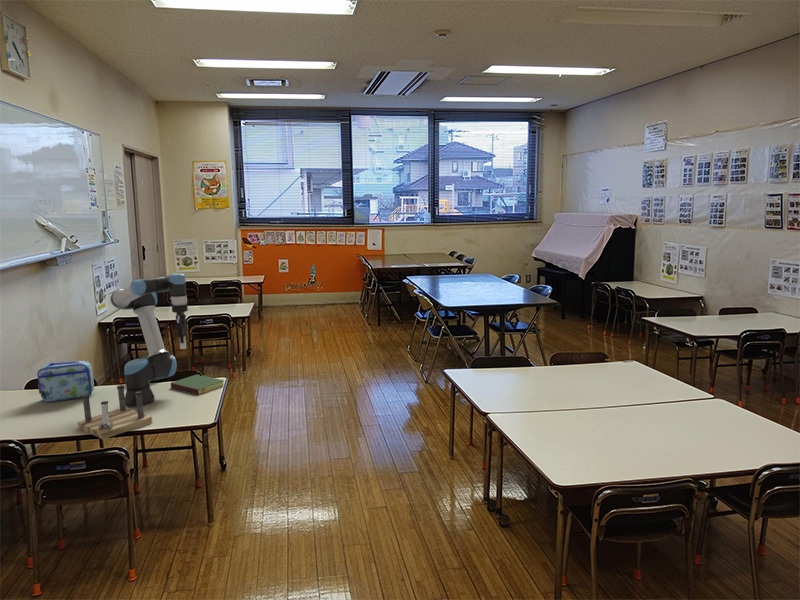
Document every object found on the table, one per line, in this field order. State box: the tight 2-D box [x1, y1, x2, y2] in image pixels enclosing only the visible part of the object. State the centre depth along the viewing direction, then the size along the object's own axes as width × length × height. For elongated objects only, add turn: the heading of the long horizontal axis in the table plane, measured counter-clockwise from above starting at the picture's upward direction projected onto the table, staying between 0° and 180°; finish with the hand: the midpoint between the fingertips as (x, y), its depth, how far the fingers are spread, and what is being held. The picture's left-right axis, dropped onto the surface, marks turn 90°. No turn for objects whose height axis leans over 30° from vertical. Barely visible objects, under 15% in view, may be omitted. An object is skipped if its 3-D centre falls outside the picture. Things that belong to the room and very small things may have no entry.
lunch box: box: [36, 360, 95, 403], centre depth 309 cm, size 26×11×21 cm, turn 108°
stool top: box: [77, 384, 153, 440], centre depth 269 cm, size 24×24×16 cm
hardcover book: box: [170, 374, 225, 396], centre depth 326 cm, size 25×19×4 cm
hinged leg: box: [100, 400, 109, 429], centre depth 258 cm, size 13×3×2 cm
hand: (183, 348), depth 287 cm, fingers closed
